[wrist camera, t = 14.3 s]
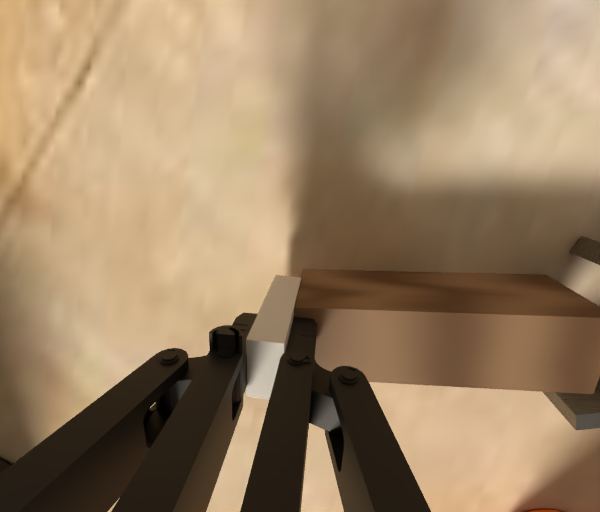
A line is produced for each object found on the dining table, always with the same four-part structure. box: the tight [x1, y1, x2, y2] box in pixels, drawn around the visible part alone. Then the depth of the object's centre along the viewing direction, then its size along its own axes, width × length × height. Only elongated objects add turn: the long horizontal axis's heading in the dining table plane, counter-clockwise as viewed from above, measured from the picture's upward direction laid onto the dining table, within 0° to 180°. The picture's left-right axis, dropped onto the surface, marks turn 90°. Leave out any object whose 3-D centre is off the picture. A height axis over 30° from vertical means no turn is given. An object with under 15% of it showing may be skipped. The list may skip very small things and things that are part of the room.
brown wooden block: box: [294, 270, 600, 394], centre depth 17 cm, size 14×4×5 cm, turn 91°
